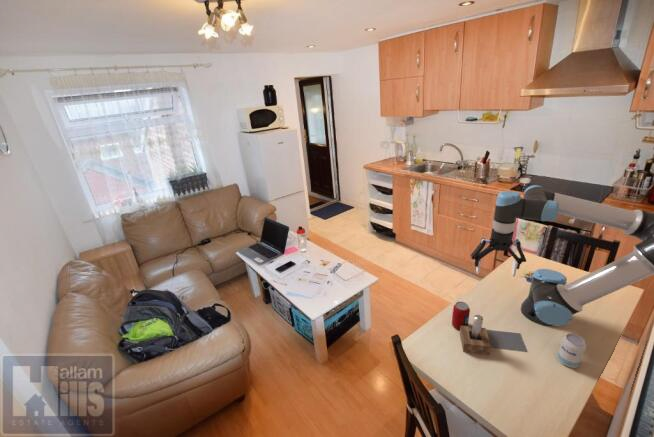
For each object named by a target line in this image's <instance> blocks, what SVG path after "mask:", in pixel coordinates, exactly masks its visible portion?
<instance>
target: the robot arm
mask: <svg viewBox="0 0 654 437" xmlns="http://www.w3.org/2000/svg"><path fill="white" fill-rule="evenodd" d="M521 196H522V194H520V193H519V192H517V191H512V190H502V191H500V192H499V193H498V194H497V197H496V201H495V206H494V207H495V208H494V214H493V220H492V227H491V233H490V238H489V239H485V237H482V238H481V240H480V243H479V244H478V245H477V246H476V248H475V249H474V250H473V252H472V253H471V254H470V257H471V260H474V266H475V267H476V269H475V272H476V275H480V272H481V271H480V270H481V264H482V259H483V258H485V257H486V256H487V255H488V254H490V253H492V252H494V251H496V252H497V251H501V252H504V251H507V253H509V254H510V255H511V257H513V262H512V267H511V271H510V273H511V275H512V277H516V273H517V270H519V269H520V268H521V265H522V264H523V263H526V262H527V258H526V257H525V254H524V252H523V249H522V247H521V245H522V243H521V241H520V240H519V239H518V238H517V239H515V240H513V237H514V231H515V226H516V221H517V219H522V220H523V219H524V220H525V219H527V220H533V221H542V222H555V220H557V218H558V216H559V215H564V216H566V217H571V218H574V219H578V220H583V221H585V222H590V223H594V224H598V225H602V226H604V227H607V228H613V229H617V230H620V231H622V232H623V233H624V234H625V235H628V236H632V237H634V238H637V239H638V240H640V241H641V242H639V243H637V244H635V245H633V250H632V252H630V253H629V254H626V255H624V256H622V257H620V258H619V259H616V260H614V261H612V262H610V263H608V264H606V265H604V266H601V267H600V268H598V269H596V270H594V271H592V272H590V273H588V274H586V275H584V276H581V277H580V278H577V279H575V280H574V281H571V282H569V283H568V282H567V278H568V277H566V275H564V274H563V273H561V272H559V271H556V270H554V269H550V268H549V269H548V268H538V269H535V271H534V273H533V274H532V279H531V284H530V287H529V291H528V295H527V297H526V298H525V299H524V300H523V302H522V303H521V306H520V311H521V314H522V315H523V317H525V318H526V319H527V320H529V321H531V322H532V323H535V324H537V325H541V326H546V327H552V326H555V327H562V326H563V327H564V326H566V325H568V324H570V323H571V322H573V318H574V317H573V315H576V314H578V313H581V312H582V311H583V308H584V306H585V305H587V304H590V303H592V302H594V301H597V300H599V299H602V298H604V297H605V296H607V295H609V294H612V293H614V292H617V291H618V290H621V289H623V288H626V287H629V286H630V285H633V284H636V283H638V282H640V281H642V280H644V279H647V278H649V277H651V276H654V212H651V211H647V210H642V209H634V210H630V209H626V208H621V207H618V206H613V205H608V204H605V203H600V202H596V201H591V200H589V199H582V198H579V197H575V196H570V195H566V194H564V193H563V194H562V193H559V192H554V191H551V190H546V189H545V188H544V187H543V186H541V185H538V184H533V185H530V186H528V187H527V188H526V189H525V190H524V191H523V197H521ZM513 245H514V246H515V247H516V250H517V251H518V255H519V256H520V257H519V256H518V255H517V254H516V253H515V252H514V250H513V249H512V248H511V246H513ZM485 246H486V247H485ZM567 283H568V284H567Z"/></svg>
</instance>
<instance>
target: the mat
mask: <svg viewBox="0 0 654 437" xmlns="http://www.w3.org/2000/svg"><path fill="white" fill-rule="evenodd" d="M486 331H487V334H488V338H489V341H490V345H491V349H499V350H506V351H507V350H508V351H516V352H524V353H529V351H528V349H527V347H526V344H525V342H524V338H523V337H522V335H521V333H520V332H519V333H518V332H511V331H501V330H492V329H486Z"/></svg>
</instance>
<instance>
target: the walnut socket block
mask: <svg viewBox="0 0 654 437" xmlns="http://www.w3.org/2000/svg"><path fill="white" fill-rule="evenodd" d="M472 328H473V326H469V325H468V326H460V330H459V337H460V342H461V348H462V352H463V353H469V354H470V353H471V354H479V355H486V356H490V355H491V354H490V353H491V349H492V348H491V345H490V341H489V338H488V334H487V331H486V330H487V328H486V327H481V333H480V338H479V340H474V339H471V334H472Z"/></svg>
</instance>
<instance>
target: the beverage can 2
mask: <svg viewBox="0 0 654 437" xmlns="http://www.w3.org/2000/svg"><path fill="white" fill-rule="evenodd" d="M562 337H563V338H562V340H561V344H560V346H559V349H558V352H557V355H556V357H557V359H558V361H559V363H561V364H563V365H564V366H566V367H568V368H572V369H573V368H578V367H580V365H581V362H582V360H583V357H584V354H585V352H586V348H587V344H586V340H585V339H584V338H583V337H582V336H580V335H579V334H576V333H568V334H566V335H565V336H562Z"/></svg>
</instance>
